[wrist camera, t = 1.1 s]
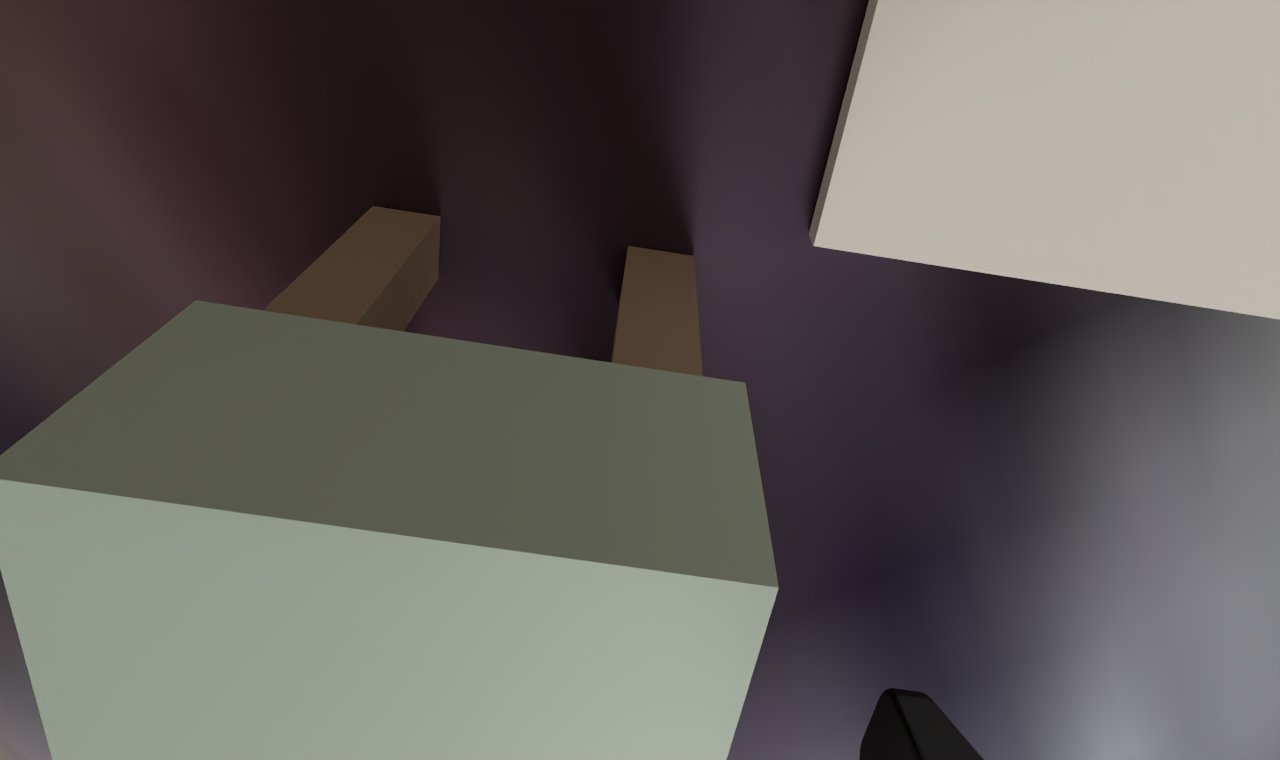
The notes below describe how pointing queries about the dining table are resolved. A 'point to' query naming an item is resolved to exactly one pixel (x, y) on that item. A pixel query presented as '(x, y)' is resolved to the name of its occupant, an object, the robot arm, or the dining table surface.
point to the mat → (1067, 145)
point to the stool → (392, 532)
